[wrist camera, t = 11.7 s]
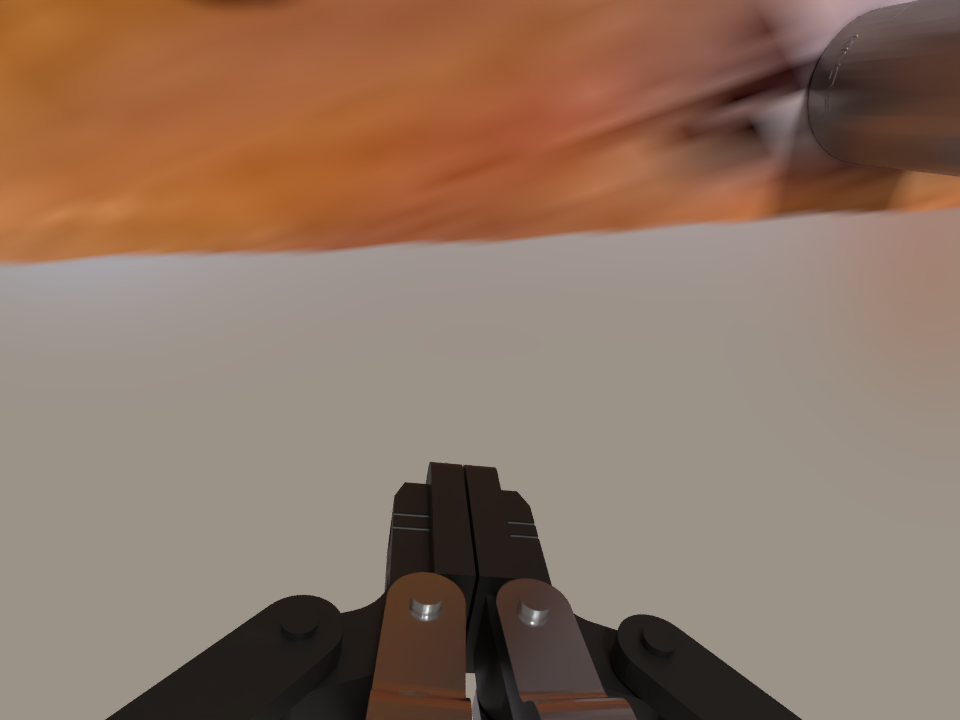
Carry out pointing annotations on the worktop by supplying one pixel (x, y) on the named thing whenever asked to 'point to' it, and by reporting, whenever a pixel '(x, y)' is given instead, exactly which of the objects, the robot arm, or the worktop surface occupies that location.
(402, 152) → the worktop surface
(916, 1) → the robot arm
